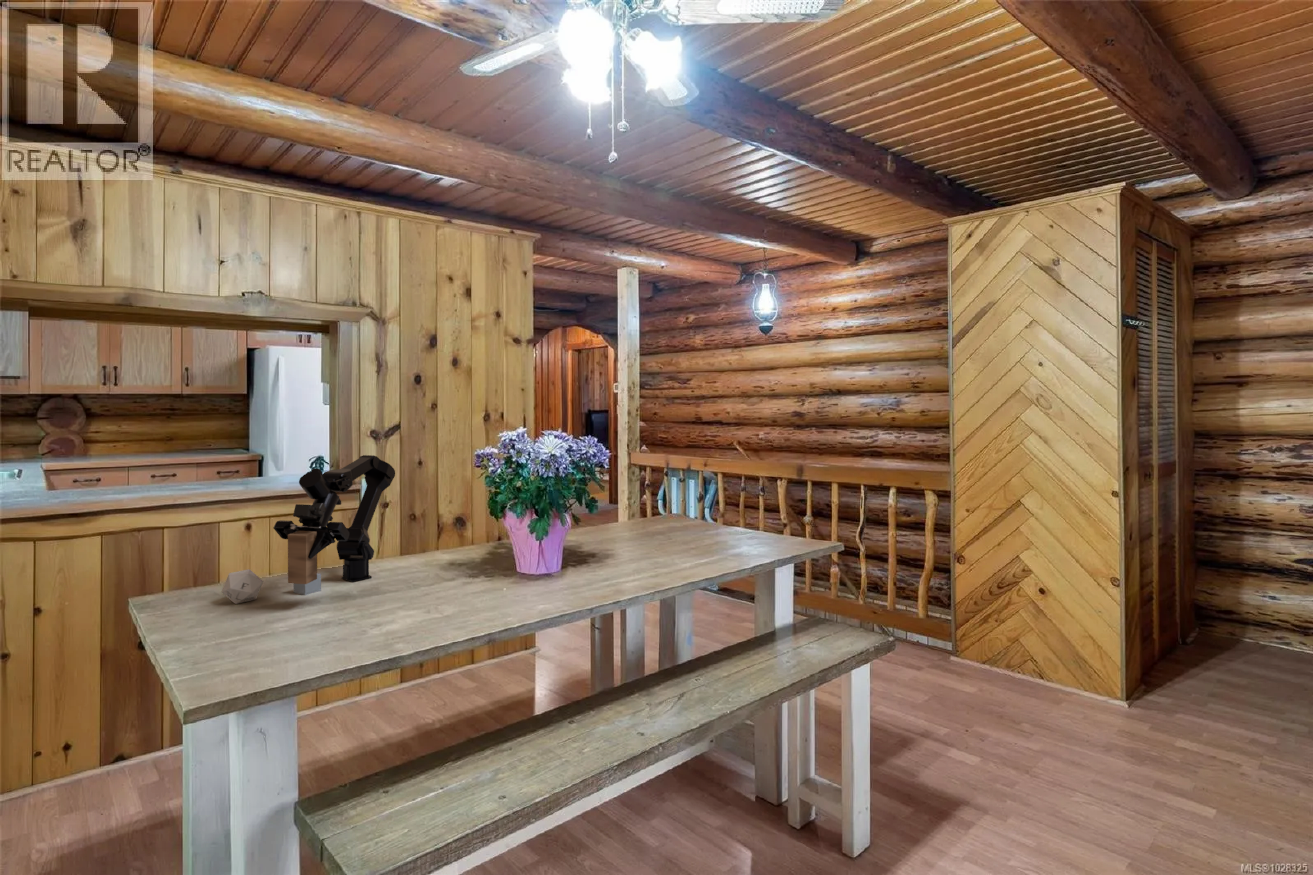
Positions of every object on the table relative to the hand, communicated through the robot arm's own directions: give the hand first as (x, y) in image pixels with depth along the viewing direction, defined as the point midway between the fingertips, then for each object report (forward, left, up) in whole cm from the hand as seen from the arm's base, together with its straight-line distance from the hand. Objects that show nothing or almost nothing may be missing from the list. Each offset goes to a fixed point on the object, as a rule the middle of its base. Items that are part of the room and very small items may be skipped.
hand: (299, 557), depth 176 cm
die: (+7, -18, -14) cm, 23 cm away
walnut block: (-1, -1, -7) cm, 7 cm away
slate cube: (-8, -13, -14) cm, 20 cm away
